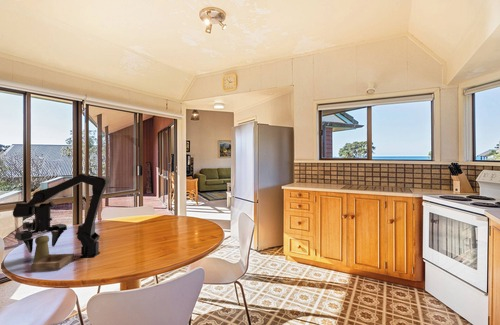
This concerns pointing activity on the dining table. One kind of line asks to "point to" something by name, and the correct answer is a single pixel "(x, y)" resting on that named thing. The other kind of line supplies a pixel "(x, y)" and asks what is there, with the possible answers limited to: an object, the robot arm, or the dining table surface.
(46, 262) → the socket block
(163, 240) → the dining table surface
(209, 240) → the dining table surface
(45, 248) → the cork
